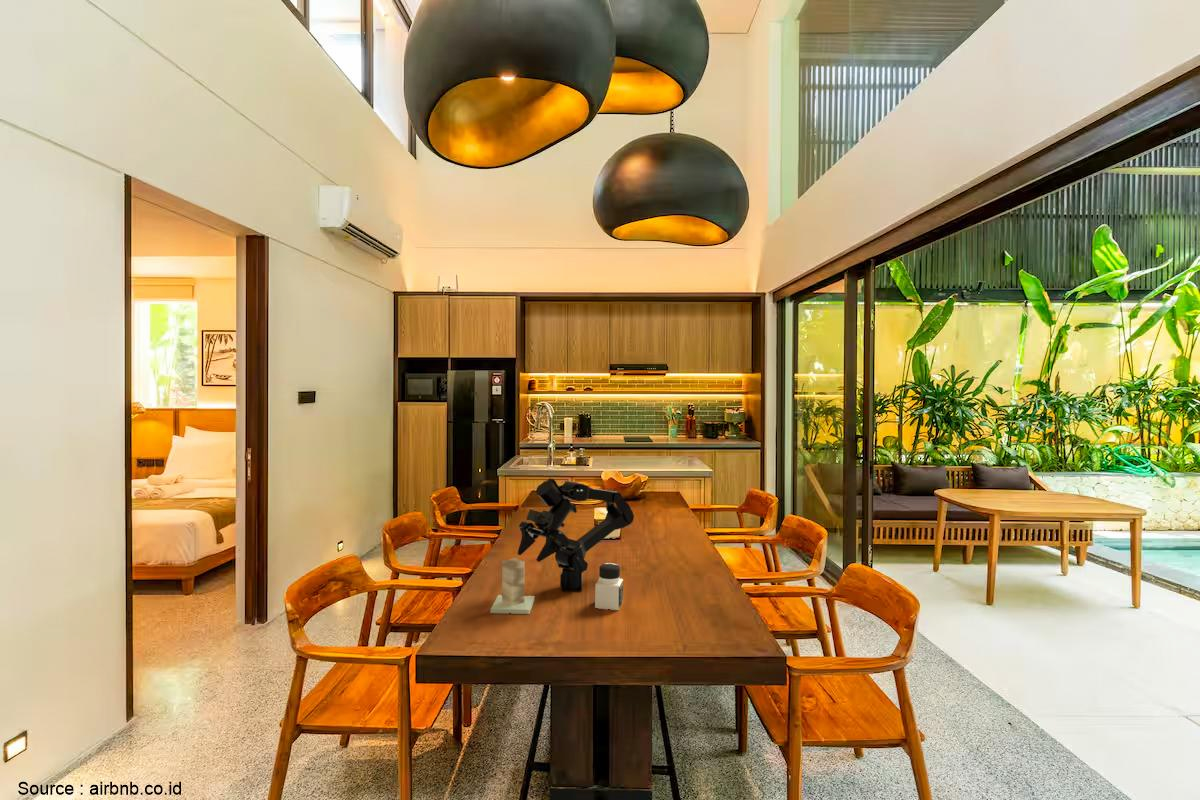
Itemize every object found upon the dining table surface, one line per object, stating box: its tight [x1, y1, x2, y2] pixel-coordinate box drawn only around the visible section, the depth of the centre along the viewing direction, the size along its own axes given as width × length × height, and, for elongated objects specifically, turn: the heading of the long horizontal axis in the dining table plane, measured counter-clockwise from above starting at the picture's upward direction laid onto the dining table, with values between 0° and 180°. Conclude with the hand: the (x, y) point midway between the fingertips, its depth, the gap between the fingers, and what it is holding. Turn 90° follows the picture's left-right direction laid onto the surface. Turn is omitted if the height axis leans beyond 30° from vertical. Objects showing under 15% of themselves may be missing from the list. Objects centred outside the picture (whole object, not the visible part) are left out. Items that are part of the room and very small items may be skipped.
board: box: [489, 594, 536, 615], centre depth 169 cm, size 11×11×1 cm
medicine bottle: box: [594, 562, 624, 611], centre depth 170 cm, size 7×7×12 cm
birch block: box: [501, 557, 526, 606], centre depth 169 cm, size 5×5×12 cm
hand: (527, 557), depth 172 cm, fingers open, 9 cm apart
